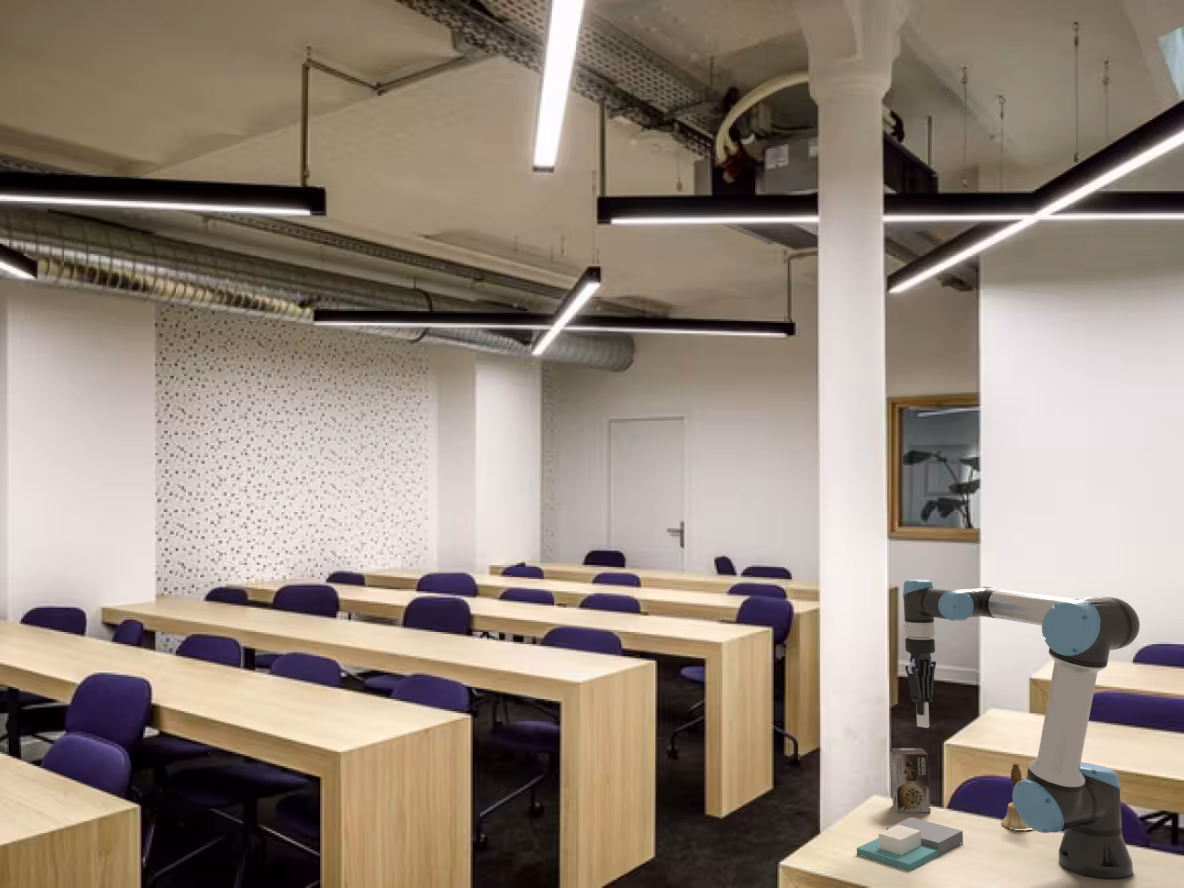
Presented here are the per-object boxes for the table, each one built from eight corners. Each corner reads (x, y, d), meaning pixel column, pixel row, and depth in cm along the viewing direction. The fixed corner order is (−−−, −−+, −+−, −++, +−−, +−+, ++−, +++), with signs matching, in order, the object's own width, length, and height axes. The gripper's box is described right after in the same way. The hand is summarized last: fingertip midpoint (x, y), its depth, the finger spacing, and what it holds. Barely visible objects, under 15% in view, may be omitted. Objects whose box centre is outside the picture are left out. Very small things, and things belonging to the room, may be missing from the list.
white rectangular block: (921, 845, 223) (920, 830, 223) (901, 855, 217) (901, 839, 217) (898, 839, 227) (898, 824, 227) (879, 848, 221) (878, 833, 222)
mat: (938, 855, 220) (938, 849, 220) (909, 870, 211) (909, 864, 211) (886, 840, 230) (886, 834, 230) (856, 854, 222) (856, 847, 222)
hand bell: (1004, 818, 245) (1001, 758, 246) (1038, 824, 240) (1035, 762, 241) (997, 827, 238) (994, 765, 240) (1032, 834, 234) (1029, 770, 235)
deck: (963, 843, 228) (962, 830, 228) (939, 855, 220) (938, 842, 220) (911, 828, 238) (911, 817, 239) (886, 840, 230) (886, 828, 231)
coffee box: (924, 805, 256) (922, 747, 257) (931, 813, 250) (928, 753, 251) (891, 805, 257) (889, 747, 258) (897, 813, 251) (894, 753, 252)
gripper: (918, 633, 252) (921, 720, 251) (894, 638, 243) (898, 728, 242) (944, 636, 247) (947, 724, 245) (921, 641, 238) (924, 733, 236)
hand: (923, 726), depth 243 cm, fingers closed
